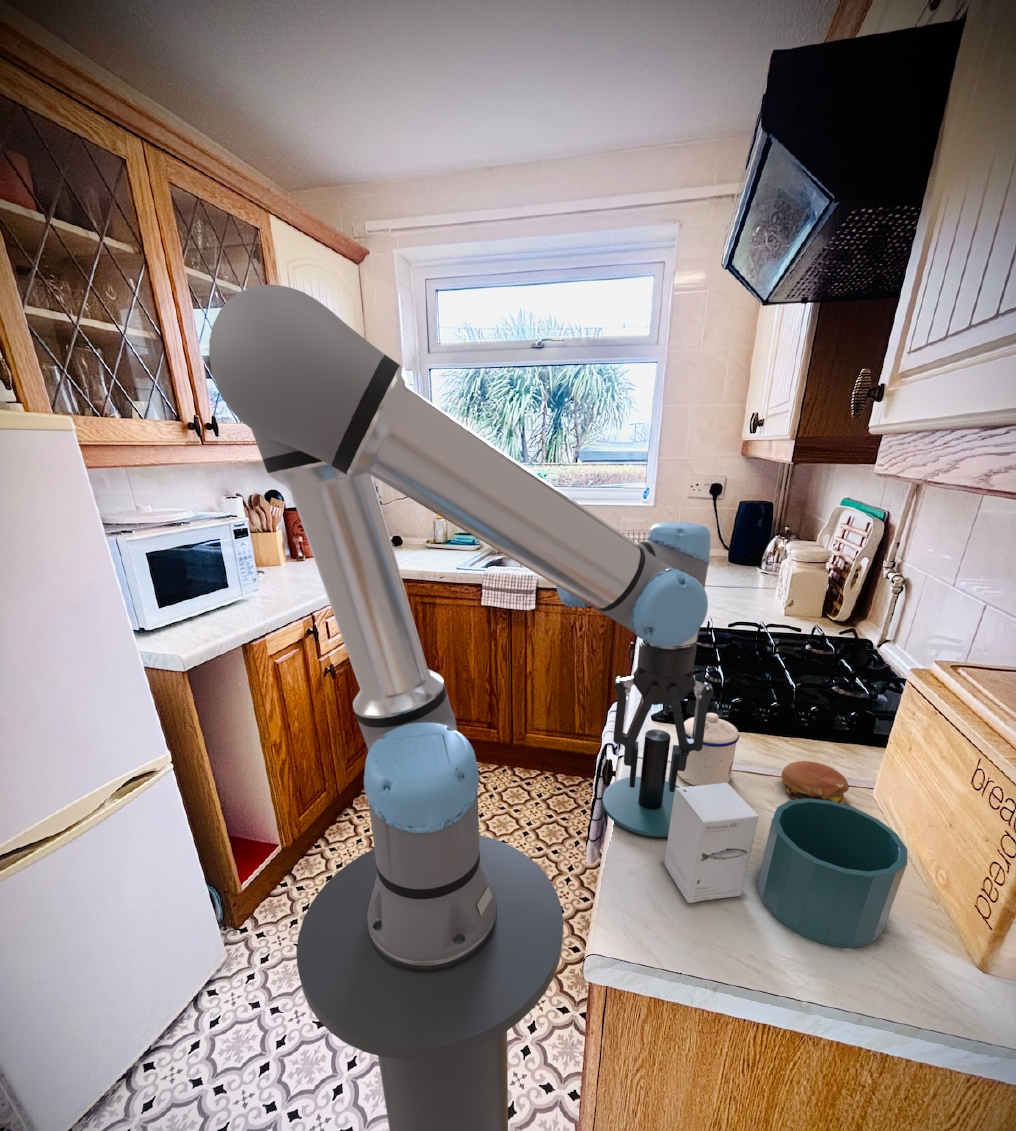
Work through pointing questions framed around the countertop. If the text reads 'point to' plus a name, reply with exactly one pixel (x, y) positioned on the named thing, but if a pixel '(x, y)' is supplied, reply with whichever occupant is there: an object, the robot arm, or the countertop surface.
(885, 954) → the countertop surface
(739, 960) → the countertop surface
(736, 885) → the white packaging box
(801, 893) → the tin
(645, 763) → the tin lid
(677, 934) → the countertop surface
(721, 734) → the teacup with lid
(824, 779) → the burger
